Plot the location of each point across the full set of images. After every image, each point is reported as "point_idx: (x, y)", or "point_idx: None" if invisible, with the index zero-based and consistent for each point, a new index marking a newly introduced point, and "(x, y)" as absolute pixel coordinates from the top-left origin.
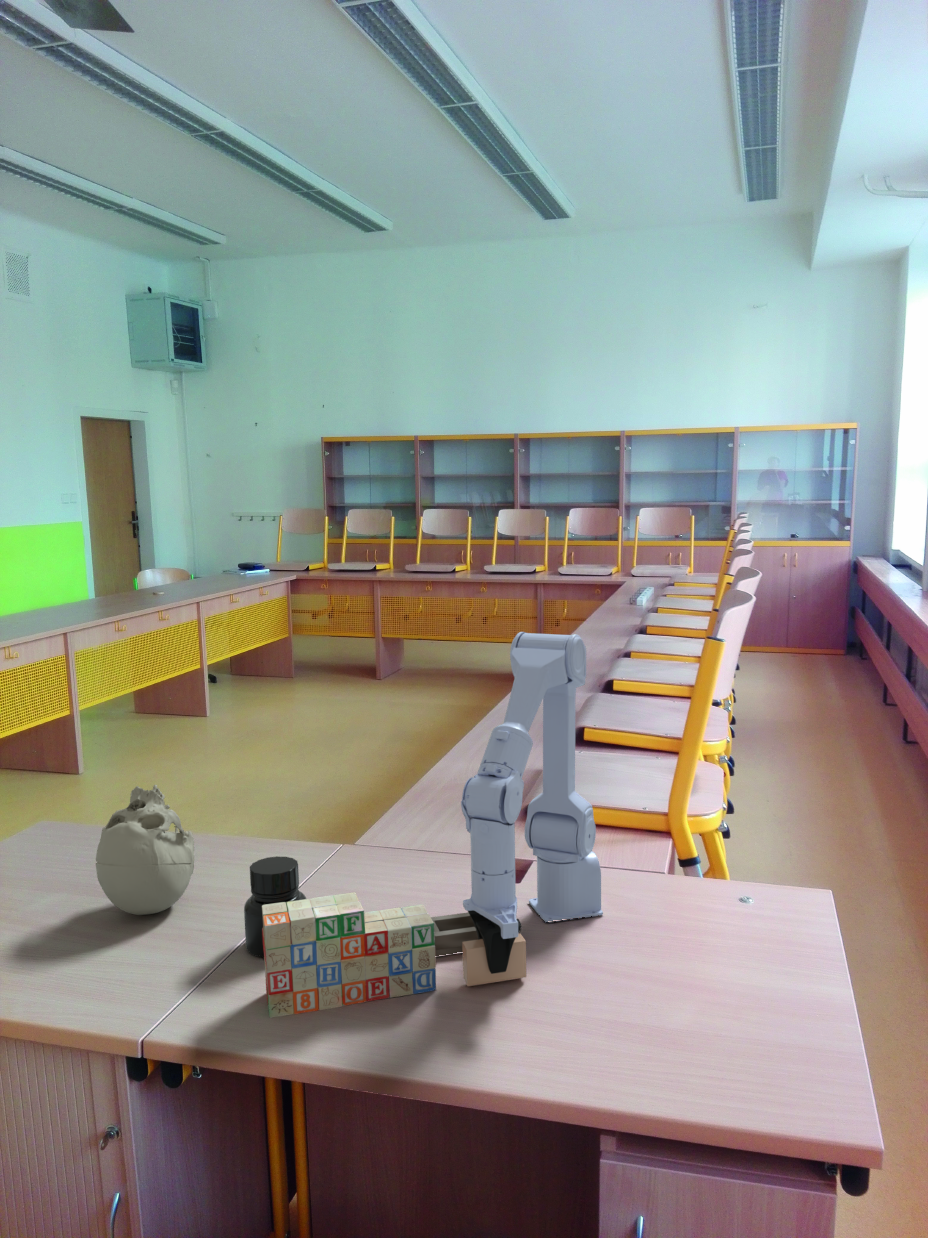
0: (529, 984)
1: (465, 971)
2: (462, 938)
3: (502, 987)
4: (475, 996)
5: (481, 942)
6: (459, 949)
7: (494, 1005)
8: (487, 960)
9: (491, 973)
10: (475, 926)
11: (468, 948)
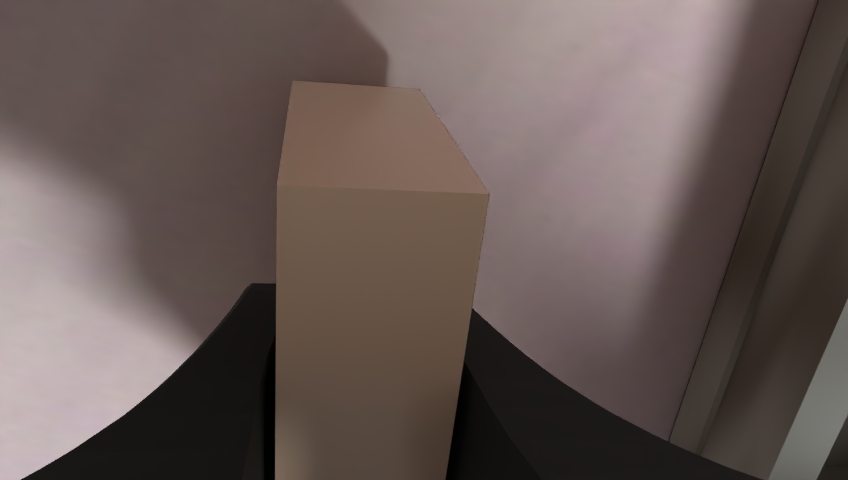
0: None
1: (346, 107)
2: (830, 240)
3: None
4: (209, 104)
5: (386, 377)
6: (780, 187)
7: (56, 188)
8: (255, 320)
9: (250, 286)
10: (578, 437)
11: (300, 215)
